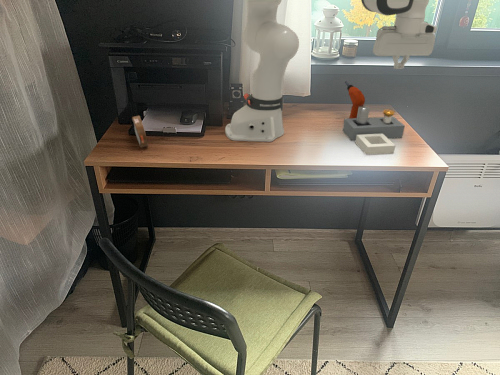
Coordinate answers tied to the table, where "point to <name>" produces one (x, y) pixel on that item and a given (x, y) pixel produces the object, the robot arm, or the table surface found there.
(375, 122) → the socket block
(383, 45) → the robot arm
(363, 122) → the grey metal peg
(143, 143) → the tin
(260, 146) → the table surface
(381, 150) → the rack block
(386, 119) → the gold topped white cylinder
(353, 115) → the toy drill
